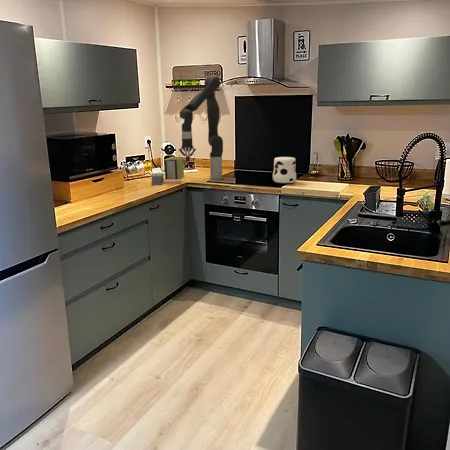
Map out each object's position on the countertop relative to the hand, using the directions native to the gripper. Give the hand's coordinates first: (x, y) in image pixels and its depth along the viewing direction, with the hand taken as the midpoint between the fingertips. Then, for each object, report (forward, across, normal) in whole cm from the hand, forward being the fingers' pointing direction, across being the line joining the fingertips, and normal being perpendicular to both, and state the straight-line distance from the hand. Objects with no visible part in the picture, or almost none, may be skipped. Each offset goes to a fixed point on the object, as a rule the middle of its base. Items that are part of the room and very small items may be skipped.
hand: (187, 161), depth 333 cm
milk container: (+16, -71, +6) cm, 73 cm away
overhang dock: (+16, +23, 0) cm, 28 cm away
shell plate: (+16, +12, 0) cm, 20 cm away
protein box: (+16, +12, -20) cm, 29 cm away
